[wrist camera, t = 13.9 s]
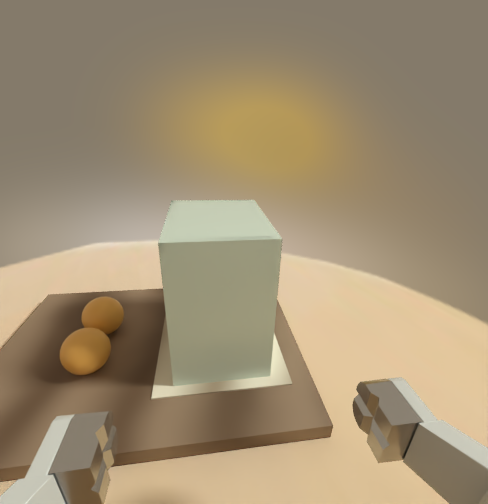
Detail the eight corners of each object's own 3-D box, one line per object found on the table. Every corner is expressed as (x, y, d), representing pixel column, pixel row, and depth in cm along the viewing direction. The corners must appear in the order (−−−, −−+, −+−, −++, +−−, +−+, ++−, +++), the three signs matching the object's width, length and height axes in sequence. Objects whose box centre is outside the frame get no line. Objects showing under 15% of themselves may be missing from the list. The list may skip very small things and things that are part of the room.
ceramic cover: (173, 386, 18) (158, 242, 14) (180, 309, 26) (171, 200, 22) (270, 376, 19) (282, 239, 15) (249, 304, 27) (253, 199, 23)
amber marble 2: (57, 387, 18) (45, 351, 17) (75, 353, 21) (66, 320, 20) (107, 383, 19) (98, 347, 17) (118, 349, 21) (112, 317, 20)
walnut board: (-105, 495, 14) (-117, 482, 13) (51, 303, 28) (48, 293, 28) (330, 436, 17) (333, 424, 16) (269, 290, 31) (269, 282, 31)
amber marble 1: (79, 345, 22) (71, 312, 20) (93, 320, 24) (85, 290, 23) (121, 342, 22) (115, 310, 21) (129, 318, 25) (124, 288, 23)
